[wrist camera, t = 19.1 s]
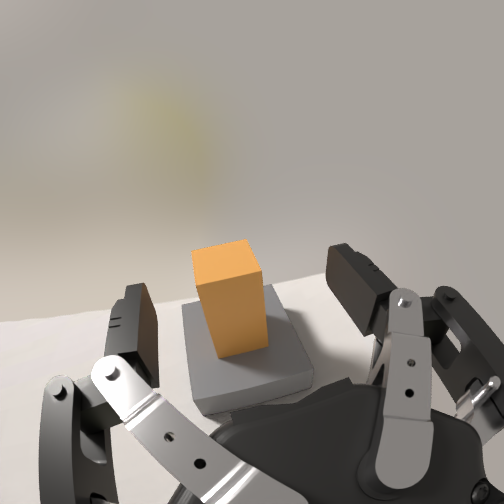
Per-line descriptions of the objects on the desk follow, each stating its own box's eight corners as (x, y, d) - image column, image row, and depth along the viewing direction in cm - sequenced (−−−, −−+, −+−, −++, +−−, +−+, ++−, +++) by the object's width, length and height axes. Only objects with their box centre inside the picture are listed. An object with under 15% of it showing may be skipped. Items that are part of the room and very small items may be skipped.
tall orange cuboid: (268, 346, 28) (261, 270, 22) (218, 358, 27) (195, 285, 22) (255, 312, 32) (246, 239, 27) (210, 322, 32) (191, 250, 26)
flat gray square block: (311, 387, 27) (317, 344, 23) (202, 415, 25) (180, 379, 21) (272, 305, 39) (269, 259, 34) (189, 325, 37) (173, 280, 32)
